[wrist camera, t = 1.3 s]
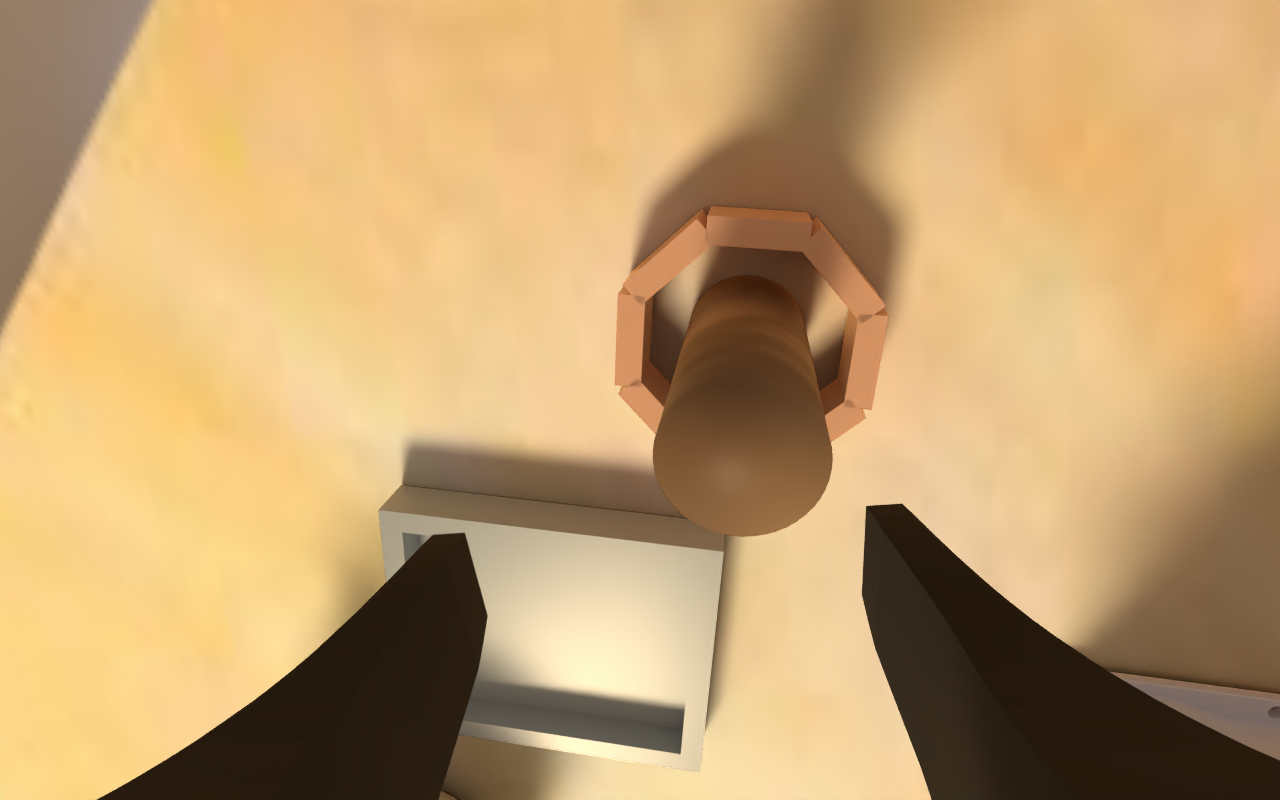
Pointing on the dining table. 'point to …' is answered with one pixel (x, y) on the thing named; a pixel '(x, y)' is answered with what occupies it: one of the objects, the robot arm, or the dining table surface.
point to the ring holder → (761, 232)
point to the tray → (580, 621)
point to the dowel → (744, 414)
